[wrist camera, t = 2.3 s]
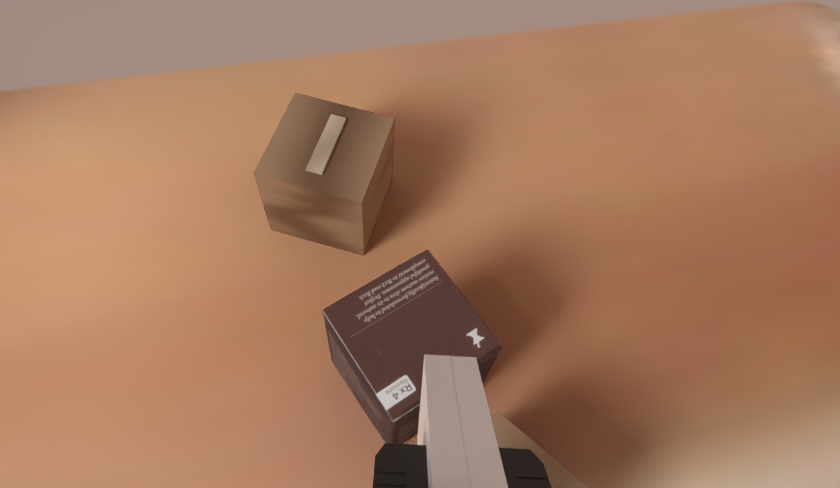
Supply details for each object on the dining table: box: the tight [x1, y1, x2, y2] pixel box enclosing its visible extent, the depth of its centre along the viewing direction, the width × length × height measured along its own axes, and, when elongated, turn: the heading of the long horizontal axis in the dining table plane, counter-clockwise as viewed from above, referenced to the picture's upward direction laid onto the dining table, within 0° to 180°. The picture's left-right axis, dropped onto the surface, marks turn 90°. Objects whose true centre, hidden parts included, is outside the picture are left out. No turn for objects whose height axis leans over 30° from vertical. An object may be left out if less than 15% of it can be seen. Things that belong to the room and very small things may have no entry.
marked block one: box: [254, 93, 395, 255], centre depth 35 cm, size 6×6×6 cm
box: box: [323, 250, 502, 444], centre depth 30 cm, size 6×6×7 cm
